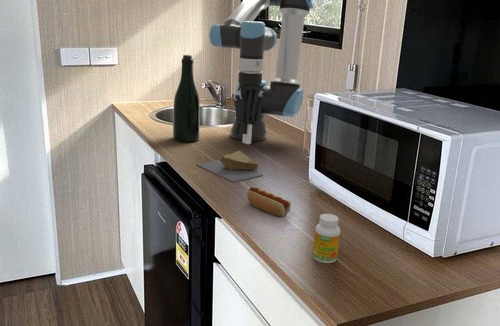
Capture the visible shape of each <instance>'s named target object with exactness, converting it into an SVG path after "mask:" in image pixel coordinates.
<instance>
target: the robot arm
mask: <svg viewBox="0 0 500 326" xmlns="http://www.w3.org/2000/svg"><path fill="white" fill-rule="evenodd" d="M275 6H276V7H279V13H281V14H282V16H281V18H282V20H281V26H280V35H279V36H280V37H279V42H278V43H279V44H278V52H277V60H276V66H275V67H276V69H275V76H274V77H273V78H272V79H271V80H270V85H269V84H267V82H266V80H263V73H262V71H263V68H264V67H263V66H264V65H263V64H264V52H267V51H269V50H271V49H273V48H274V47H275V46H276V45H277V41H278V36H277V33H276V32H275V30H274V29H273V28H271V27H268V26H266V24H265V22H264V21H255V19H256V18H257V16H258V15H259V14H260V13H261V12H262V10H263V11H264V10H266V9H267V8H268V7H275ZM315 6H316V0H242V1H241V2H240V4H238V6H236V8H235V9H234V11H233V12H232V13H231V14H230V15H229V16H228V18H227V19H226V20H225V21H224V23H222V24H221V23H219V24H218V23H215V24H212V25H211V27H210V29H209V35H208V36H209V42H210V44H211V46H213V47H218V48H226V49H238V50H239V58H238V59H239V61H238V70H239V72H238V84H237V86H236V93H233V94H232V95H231V98H232V100H233V102H234V103H233V104H234V109H235V116H234V121H233V123H232V127H231V129H230V137H231V138H233V139H235V140H239V141H242V143H243V144H246V145H250V144H252V142H257V141H259V142H260V141H264V140H266V139H267V137H268V133H267V128H266V123H265V120H264V116H265V115H270V116H275V117H283V118H285V117H287V118H294V117H296V116H297V115H298V113H299V112H300V110H301V107H302V104H303V99H304V90H303V89H302V88H300V85H301V83H300V82H299V81H298V79H297V78H298V71H299V65H300V58H301V57H300V56H301V49H302V42H303V40H302V39H303V33H304V24H305V18H306V17H307V16H308V15H309V14H310V9H314V7H315Z"/></svg>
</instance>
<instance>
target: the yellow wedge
mask: <svg viewBox="0 0 500 326" xmlns="http://www.w3.org/2000/svg"><path fill="white" fill-rule="evenodd" d="M219 160H220V161H221V162H222V164H223V165H224V166H225V167H227V168H228V169H230V170H232V171H233V170H241V169H244V170H253V171H256V170H258V167H259V164H258V163H257V162H256V161H254V160H253V158H250V157H249V156H248V155H247V154H246V153H244V152H242V150H237V151H235V152H233V153H228V154H226V155H224V156H222V157H221V158H220V159H219Z"/></svg>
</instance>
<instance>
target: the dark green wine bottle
mask: <svg viewBox="0 0 500 326" xmlns="http://www.w3.org/2000/svg"><path fill="white" fill-rule="evenodd" d="M193 69H194V59H193V56H192V55H190V54H184V55H182V58H181V73H180V74H181V75H180V80H179V84H178V86H177V89H176V91H175V94H174V98H173V111H172V113H173V115H172V116H173V118H172V138H173V140H175V141H176V142H179V143H193V142H197V141H199V139H200V133H201V132H200V129H201V128H200V126H201V125H200V123H201V122H200V119H201V118H200V116H201V114H200V112H201V111H200V110H201V107H200V98H199V93H198V92H199V91H198V89H197V86H196V84H195V79H194V70H193Z"/></svg>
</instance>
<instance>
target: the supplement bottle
mask: <svg viewBox="0 0 500 326" xmlns="http://www.w3.org/2000/svg"><path fill="white" fill-rule="evenodd" d="M340 237H341V228H340V226H339V217H338V216H337V215H335V214H332V213H322V214H320V215H319V223H317V224H316V226H315V230H314V239H313V249H312V258H313V259H314V260H315V261H317V262H319V263H323V264H332V263H334V262H336V261H337V259H338V254H339V245H340Z"/></svg>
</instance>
